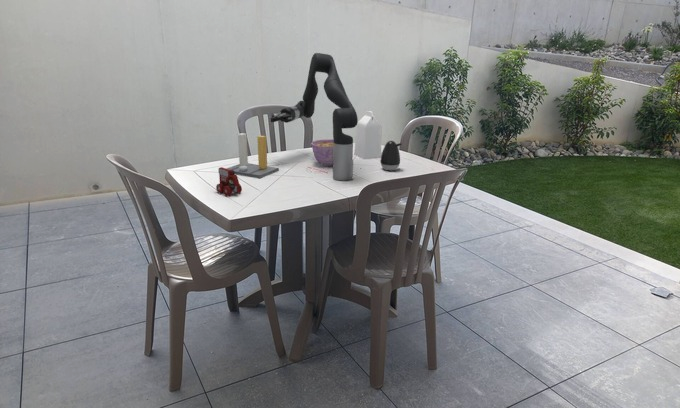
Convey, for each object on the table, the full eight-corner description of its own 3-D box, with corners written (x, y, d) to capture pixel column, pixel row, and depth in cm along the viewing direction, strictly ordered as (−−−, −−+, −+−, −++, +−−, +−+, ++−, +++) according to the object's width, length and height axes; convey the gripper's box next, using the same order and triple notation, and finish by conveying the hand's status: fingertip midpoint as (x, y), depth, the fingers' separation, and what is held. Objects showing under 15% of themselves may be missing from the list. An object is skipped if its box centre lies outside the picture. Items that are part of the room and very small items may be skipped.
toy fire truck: (231, 197, 180) (230, 173, 177) (214, 191, 188) (212, 168, 184) (245, 194, 185) (243, 170, 182) (227, 188, 193) (225, 165, 189)
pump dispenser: (397, 173, 221) (399, 143, 216) (377, 170, 224) (379, 141, 219) (401, 168, 230) (403, 139, 225) (382, 166, 233) (384, 138, 228)
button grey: (249, 170, 215) (249, 166, 215) (244, 172, 212) (243, 168, 211) (242, 169, 217) (242, 165, 216) (237, 171, 213) (237, 167, 213)
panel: (278, 170, 221) (278, 167, 220) (259, 178, 207) (259, 175, 207) (243, 165, 230) (243, 162, 229) (223, 172, 216) (223, 169, 216)
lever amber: (267, 167, 219) (266, 136, 214) (263, 169, 217) (262, 137, 211) (262, 166, 220) (261, 135, 215) (258, 168, 218) (257, 136, 213)
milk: (354, 154, 258) (355, 110, 249) (371, 153, 262) (373, 109, 254) (363, 159, 247) (365, 113, 239) (381, 157, 252) (383, 112, 243)
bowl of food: (349, 160, 244) (350, 140, 240) (346, 169, 225) (347, 147, 221) (314, 159, 246) (314, 138, 242) (308, 168, 227) (308, 146, 223)
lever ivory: (248, 164, 224) (246, 133, 219) (244, 166, 222) (242, 134, 216) (243, 164, 225) (241, 133, 220) (239, 165, 223) (237, 134, 217)
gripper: (279, 106, 234) (260, 111, 220) (300, 108, 229) (282, 113, 215) (279, 120, 237) (261, 126, 223) (300, 122, 232) (283, 128, 218)
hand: (272, 120), depth 219 cm, fingers closed
